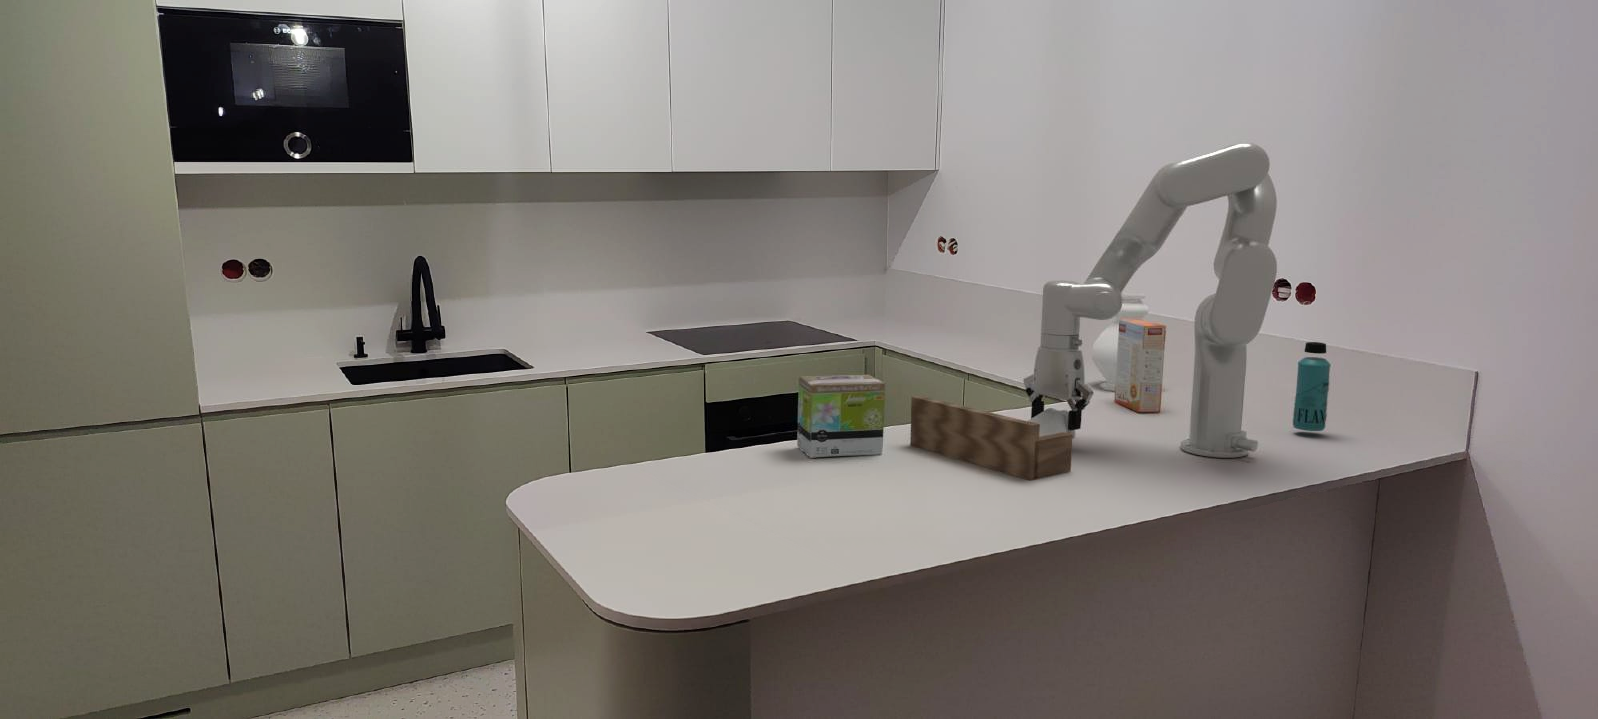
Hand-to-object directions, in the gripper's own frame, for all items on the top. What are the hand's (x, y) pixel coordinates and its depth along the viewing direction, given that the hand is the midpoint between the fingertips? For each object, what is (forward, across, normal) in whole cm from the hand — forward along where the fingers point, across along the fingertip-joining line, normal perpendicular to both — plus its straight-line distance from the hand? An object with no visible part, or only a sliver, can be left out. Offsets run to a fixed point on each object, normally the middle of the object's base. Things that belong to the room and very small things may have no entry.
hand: (1055, 424), depth 211 cm
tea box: (+4, +20, +40) cm, 45 cm away
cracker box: (+4, +14, -46) cm, 48 cm away
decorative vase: (+4, +32, -65) cm, 72 cm away
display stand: (+4, 0, +20) cm, 20 cm away
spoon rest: (+4, 0, +3) cm, 6 cm away
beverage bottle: (+4, -25, -52) cm, 58 cm away
